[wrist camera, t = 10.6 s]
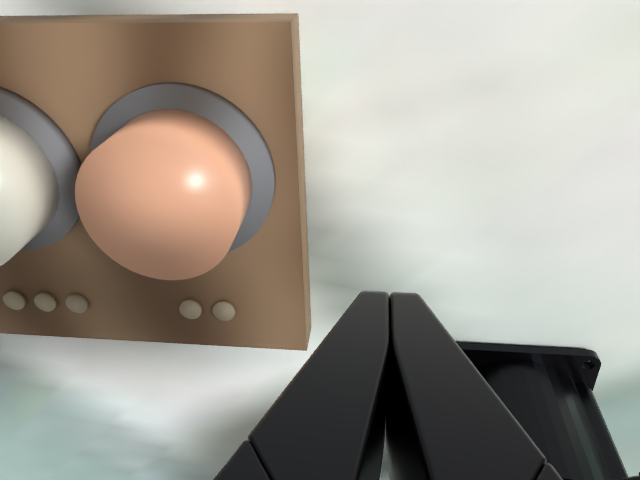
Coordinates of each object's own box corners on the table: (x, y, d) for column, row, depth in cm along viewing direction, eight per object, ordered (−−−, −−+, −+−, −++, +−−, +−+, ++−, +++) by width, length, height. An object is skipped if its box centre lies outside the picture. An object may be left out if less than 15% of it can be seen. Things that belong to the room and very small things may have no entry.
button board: (297, 13, 17) (288, 24, 16) (310, 327, 24) (305, 359, 22) (-302, 18, 20) (-367, 28, 18) (-138, 303, 26) (-174, 330, 25)
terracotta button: (244, 109, 17) (225, 136, 15) (258, 244, 20) (243, 283, 18) (94, 108, 18) (55, 133, 16) (126, 240, 20) (96, 277, 18)
